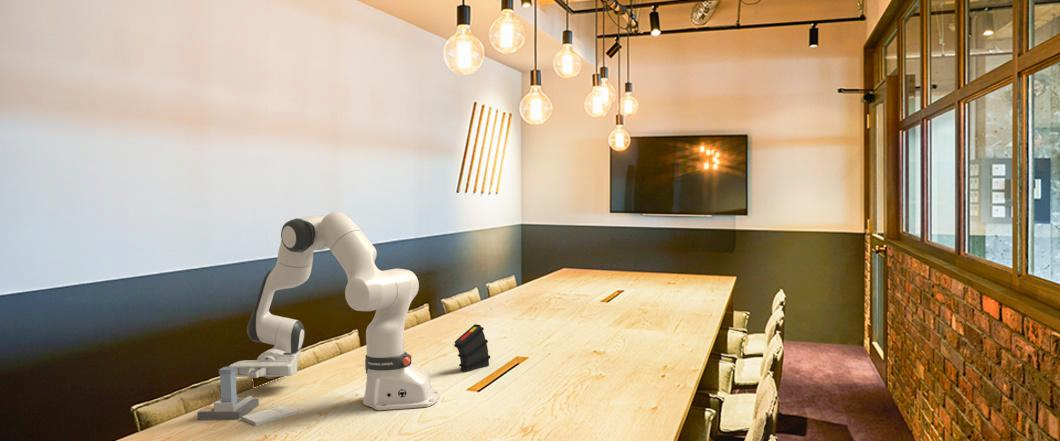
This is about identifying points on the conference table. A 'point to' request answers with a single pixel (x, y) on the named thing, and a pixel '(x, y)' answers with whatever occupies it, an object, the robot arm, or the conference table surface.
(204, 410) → the grey stepped square base
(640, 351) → the conference table surface
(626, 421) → the conference table surface
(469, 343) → the magazine
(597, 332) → the conference table surface
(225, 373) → the switch tab
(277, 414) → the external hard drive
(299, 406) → the conference table surface
